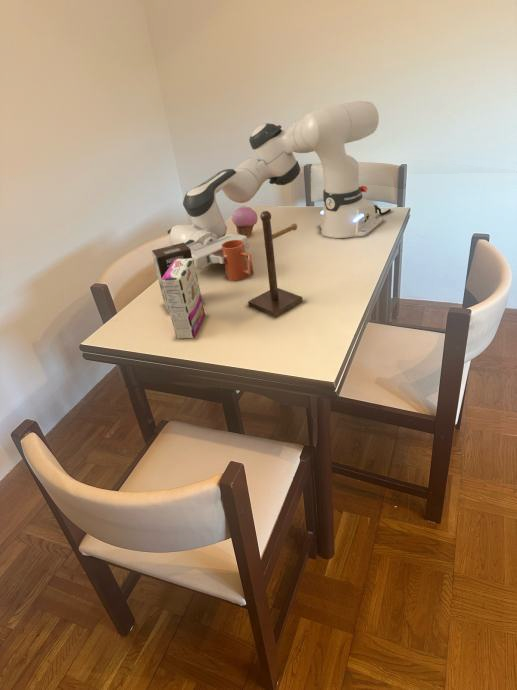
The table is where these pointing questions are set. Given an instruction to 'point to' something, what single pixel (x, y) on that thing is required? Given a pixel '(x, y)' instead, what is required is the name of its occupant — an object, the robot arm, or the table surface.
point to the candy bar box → (183, 298)
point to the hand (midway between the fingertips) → (234, 256)
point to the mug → (236, 260)
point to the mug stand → (273, 276)
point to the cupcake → (244, 220)
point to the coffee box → (168, 261)
